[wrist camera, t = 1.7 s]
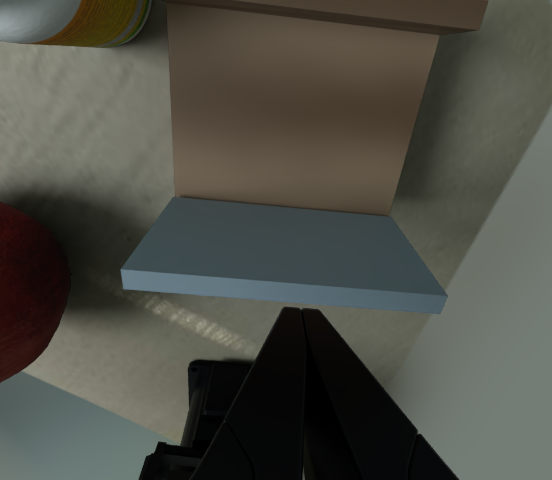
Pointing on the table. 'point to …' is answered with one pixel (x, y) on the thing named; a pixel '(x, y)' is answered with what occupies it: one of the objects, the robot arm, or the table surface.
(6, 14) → the supplement bottle
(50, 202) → the table surface
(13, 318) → the fruit
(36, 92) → the table surface
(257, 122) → the brown platform with wall
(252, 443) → the robot arm
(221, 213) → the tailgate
